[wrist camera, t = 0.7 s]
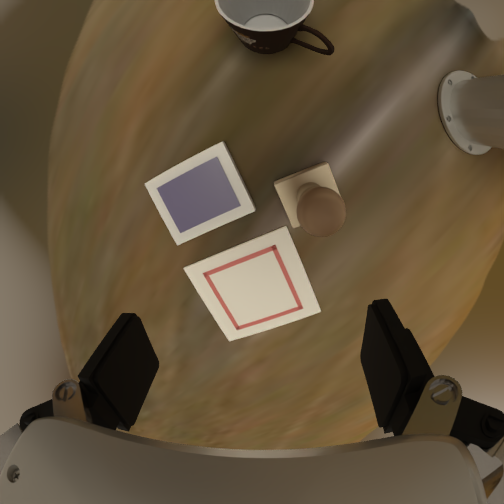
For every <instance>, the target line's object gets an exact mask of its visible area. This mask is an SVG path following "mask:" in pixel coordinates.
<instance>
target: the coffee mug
mask: <svg viewBox="0 0 504 504" xmlns="http://www.w3.org/2000/svg"><path fill="white" fill-rule="evenodd" d="M313 3H314V0H215V5H216V8H217V10H218V11H219V13H220V14H221V16H222V17H223V18H224V19H225V21H226V22H227V23H228V24H229V26H230V27H231V28H232V30H233V31H234V32H235V34H236V35H237V36H238V38H239V39H240V40H241V42H242V43H243V44H244V45H245V46H246V47H247V48H248V49H250V50H252V51H254V52H257V53H261V54H272V53H276V52H279V51H281V50H283V49H285V48H286V47H287V46H288V45H289V44H290V42H291V43H296V44H298V45H301V46H303V47H305V48H308V49H310V50H312V51H315V52H318V53H321V54H324V55H331V54H333V52H334V46H333V45H332V43H331V42H330V41H329V40H328V39H327V38H326V37H325V36H324V35H323V34H322V33H320V32H319V31H317V30H315V29H313V28H311V27H308V26H305V25H303V22H304V21H305V19H306V18H307V16H308V15H309V13H310V12H311V9H312V7H313ZM297 31H307V32H310V33H312V34H313V35H315V36H317V37H318V38H319V39H321V40H322V41H323V42H324V44H325V45H326V46H327V48H328V50H324V49H320V48H317V47H314V46H312V45H309V44H307V43H305V42H302V41H299V40H297V39H295V38H294V36H295V34H296V33H297Z"/></svg>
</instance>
